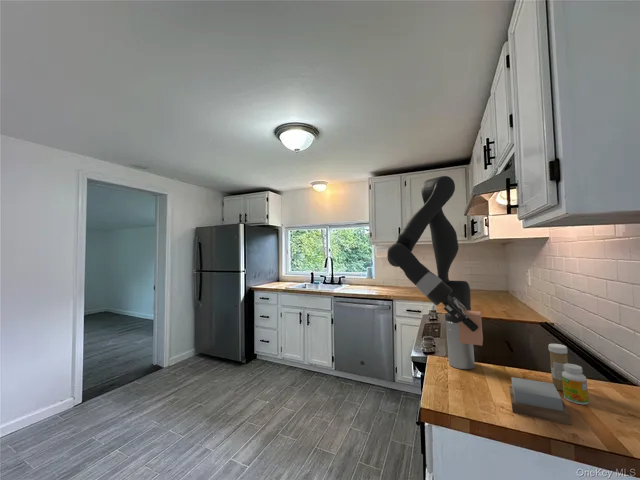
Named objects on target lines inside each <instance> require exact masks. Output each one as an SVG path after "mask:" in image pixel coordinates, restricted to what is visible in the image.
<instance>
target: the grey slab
mask: <svg viewBox="0 0 640 480" xmlns="http://www.w3.org/2000/svg"><path fill="white" fill-rule="evenodd" d="M510 378H511V386H512V388H513V393H514V398H515V402H517V403H522V404H528V405H533V406H538V407H543V408H549V409H554V410H559V411H563V405H562V400H563V398H562V396H561V394H559V392H558V391H559V390H558V389H556V388H555V386H554V384H553V382H552V383H551V382H545V381H539V380H532V379H525V378H519V377H512V376H511V377H510ZM560 396H561V397H560ZM561 398H562V399H561Z"/></svg>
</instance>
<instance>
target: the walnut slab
mask: <svg viewBox="0 0 640 480" xmlns="http://www.w3.org/2000/svg"><path fill="white" fill-rule="evenodd" d="M509 396H510V403H511V411H512V413H513V414H516V413H518V414H517V415H521V414H522V415H521V416H525V415H526V416H527V417H530V418H534V419H535V418H536V419H539V420H540V419H541V420H545V421H549V422H553V423H559V424H564V425H566V424H567V426H572V419H571V414H570V412H569V410H568V408H567V406H566V404H565V401H564V400H563V398H562V396H561V395H560V397H561V399H562V405H563V411H559V410H554V409H549V408H543V407H538V406H533V405H528V404H522V403H517V402H515V398H514V393H513V388H512V385H509Z"/></svg>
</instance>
